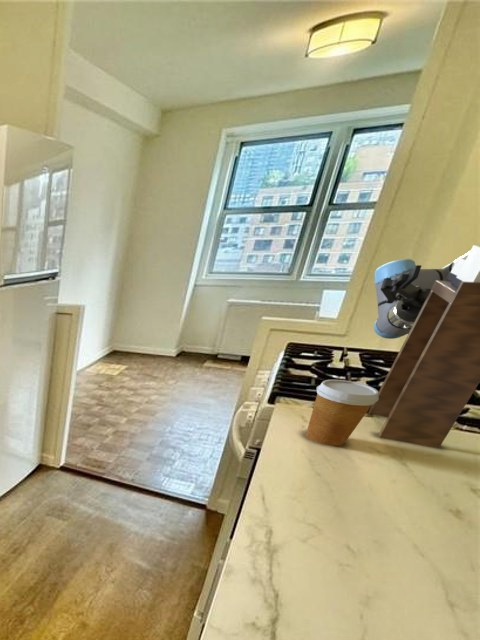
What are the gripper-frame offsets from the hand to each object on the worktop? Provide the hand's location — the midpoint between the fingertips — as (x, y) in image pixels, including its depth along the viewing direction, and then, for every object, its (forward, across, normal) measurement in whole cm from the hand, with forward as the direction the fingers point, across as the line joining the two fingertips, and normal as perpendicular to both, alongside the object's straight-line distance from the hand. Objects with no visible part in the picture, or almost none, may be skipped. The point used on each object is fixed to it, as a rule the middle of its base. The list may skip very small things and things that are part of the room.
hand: (462, 273), depth 101 cm
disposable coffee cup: (+9, +14, -41) cm, 44 cm away
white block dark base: (+9, 0, -6) cm, 11 cm away
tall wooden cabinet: (-4, 0, -34) cm, 34 cm away
